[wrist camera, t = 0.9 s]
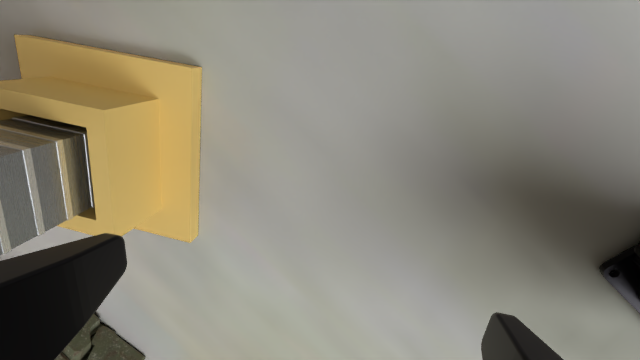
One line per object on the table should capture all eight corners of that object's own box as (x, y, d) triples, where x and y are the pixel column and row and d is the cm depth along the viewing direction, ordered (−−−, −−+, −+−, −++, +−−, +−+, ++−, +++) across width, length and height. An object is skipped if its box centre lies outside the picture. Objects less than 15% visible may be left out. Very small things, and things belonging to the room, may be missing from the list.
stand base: (201, 67, 19) (138, 72, 14) (198, 235, 23) (148, 283, 18) (31, 35, 20) (-80, 30, 16) (56, 199, 25) (-25, 235, 20)
